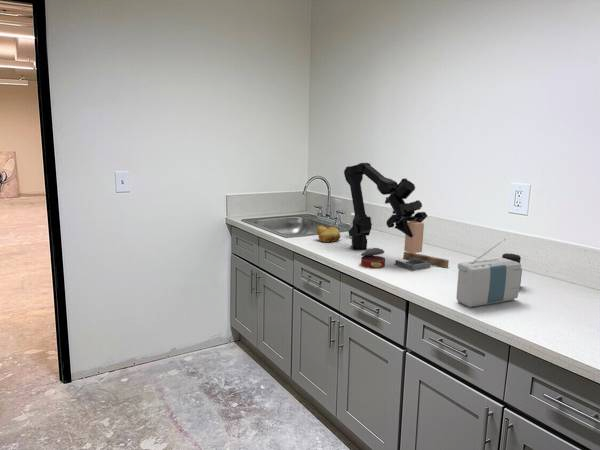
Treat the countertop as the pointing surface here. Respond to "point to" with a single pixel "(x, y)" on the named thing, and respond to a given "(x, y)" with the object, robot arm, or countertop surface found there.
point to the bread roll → (328, 234)
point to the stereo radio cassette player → (488, 281)
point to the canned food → (373, 258)
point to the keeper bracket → (413, 264)
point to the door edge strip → (427, 259)
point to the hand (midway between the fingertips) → (416, 236)
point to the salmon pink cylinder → (414, 237)
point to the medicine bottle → (513, 259)
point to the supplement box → (351, 221)
